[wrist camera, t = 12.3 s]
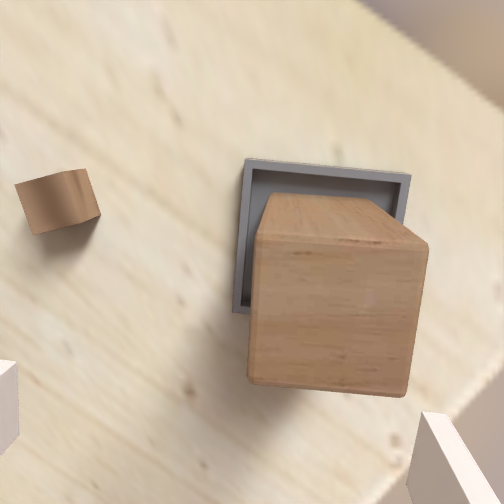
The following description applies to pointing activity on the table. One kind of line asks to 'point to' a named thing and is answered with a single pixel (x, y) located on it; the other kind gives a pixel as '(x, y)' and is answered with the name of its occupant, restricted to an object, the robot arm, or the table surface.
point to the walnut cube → (58, 200)
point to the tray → (305, 182)
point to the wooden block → (334, 296)
